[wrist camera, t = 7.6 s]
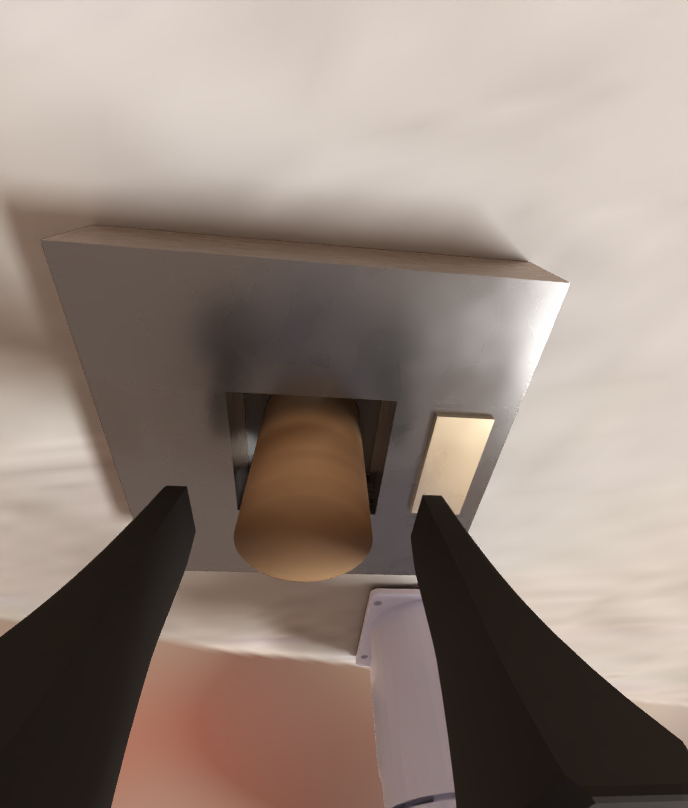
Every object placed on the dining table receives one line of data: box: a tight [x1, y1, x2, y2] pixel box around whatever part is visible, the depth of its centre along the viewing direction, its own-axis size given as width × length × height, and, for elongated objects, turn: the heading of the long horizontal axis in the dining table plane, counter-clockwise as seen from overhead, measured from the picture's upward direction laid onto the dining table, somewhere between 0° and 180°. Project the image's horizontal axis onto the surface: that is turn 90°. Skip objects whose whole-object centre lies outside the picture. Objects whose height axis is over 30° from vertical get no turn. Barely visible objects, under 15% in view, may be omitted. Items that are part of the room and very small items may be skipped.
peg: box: [234, 394, 373, 582], centre depth 13 cm, size 4×4×6 cm
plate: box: [40, 225, 570, 575], centre depth 15 cm, size 14×14×3 cm
